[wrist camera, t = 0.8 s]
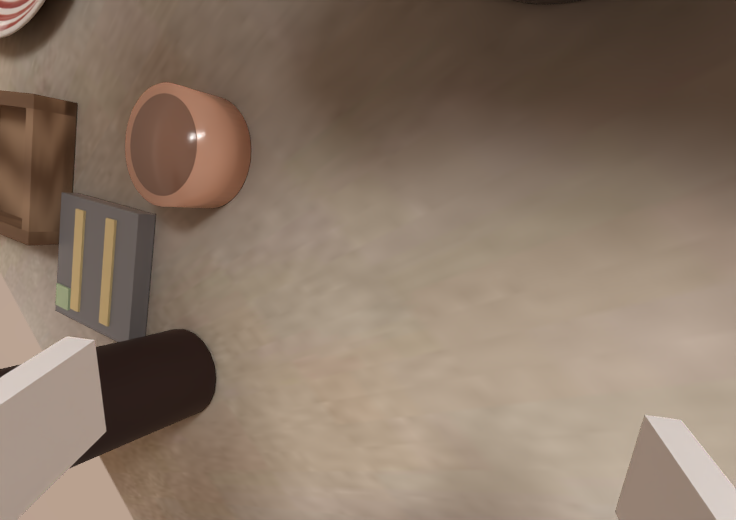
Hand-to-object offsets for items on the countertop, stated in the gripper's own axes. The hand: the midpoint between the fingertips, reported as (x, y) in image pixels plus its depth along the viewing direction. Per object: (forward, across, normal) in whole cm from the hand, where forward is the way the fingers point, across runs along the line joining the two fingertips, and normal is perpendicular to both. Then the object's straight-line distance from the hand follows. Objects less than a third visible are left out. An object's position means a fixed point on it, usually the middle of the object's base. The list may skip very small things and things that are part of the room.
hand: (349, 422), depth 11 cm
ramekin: (+24, -15, +3) cm, 28 cm away
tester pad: (+26, -26, -8) cm, 38 cm away
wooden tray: (+33, -37, -1) cm, 49 cm away
